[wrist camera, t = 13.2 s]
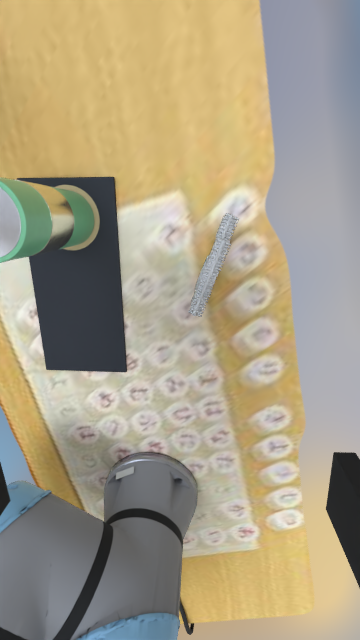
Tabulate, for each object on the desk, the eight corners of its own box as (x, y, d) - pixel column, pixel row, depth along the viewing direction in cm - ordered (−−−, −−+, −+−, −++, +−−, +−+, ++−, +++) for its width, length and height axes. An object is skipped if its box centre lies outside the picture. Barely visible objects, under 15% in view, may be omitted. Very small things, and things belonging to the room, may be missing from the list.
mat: (126, 370, 46) (126, 372, 45) (47, 368, 46) (46, 369, 46) (114, 177, 37) (113, 176, 37) (18, 178, 38) (16, 178, 38)
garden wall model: (223, 212, 38) (227, 211, 32) (237, 217, 38) (243, 218, 32) (188, 301, 42) (186, 314, 36) (201, 306, 42) (201, 320, 36)
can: (32, 264, 25) (18, 171, 23) (-48, 263, 25) (-69, 173, 23) (97, 246, 40) (92, 189, 38) (46, 245, 40) (38, 189, 38)
